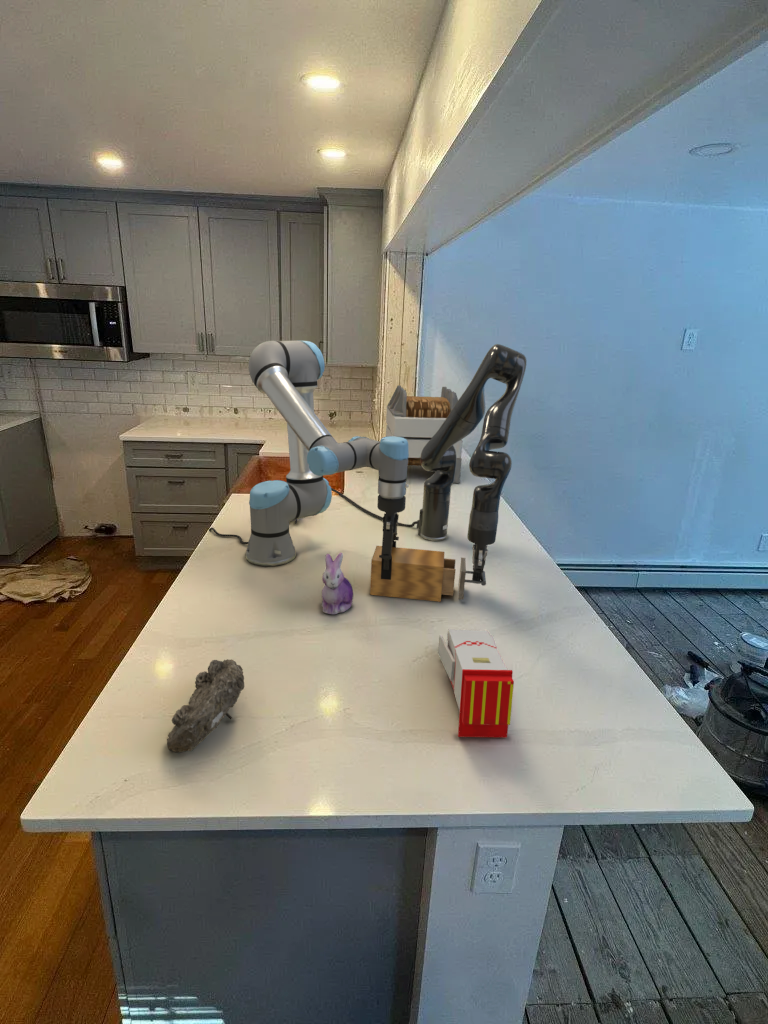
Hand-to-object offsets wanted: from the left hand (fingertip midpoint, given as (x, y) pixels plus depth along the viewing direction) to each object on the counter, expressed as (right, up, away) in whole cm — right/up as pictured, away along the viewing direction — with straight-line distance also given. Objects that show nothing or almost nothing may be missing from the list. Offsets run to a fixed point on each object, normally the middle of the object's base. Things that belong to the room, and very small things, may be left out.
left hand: (388, 570), depth 159 cm
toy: (+17, -21, -41) cm, 49 cm away
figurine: (-14, -9, -10) cm, 19 cm away
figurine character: (-34, +14, +50) cm, 62 cm away
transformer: (+16, +35, +116) cm, 122 cm away
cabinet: (+5, -6, +1) cm, 8 cm away
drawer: (+15, -6, 0) cm, 16 cm away
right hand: (+24, -3, -2) cm, 25 cm away
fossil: (-34, -23, -51) cm, 65 cm away
